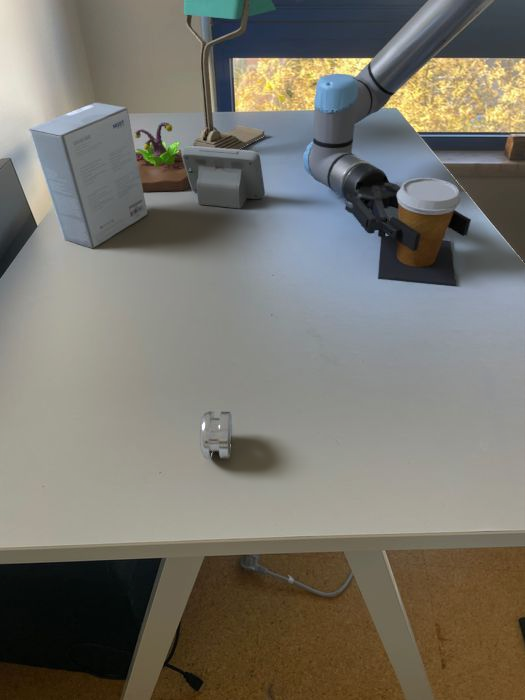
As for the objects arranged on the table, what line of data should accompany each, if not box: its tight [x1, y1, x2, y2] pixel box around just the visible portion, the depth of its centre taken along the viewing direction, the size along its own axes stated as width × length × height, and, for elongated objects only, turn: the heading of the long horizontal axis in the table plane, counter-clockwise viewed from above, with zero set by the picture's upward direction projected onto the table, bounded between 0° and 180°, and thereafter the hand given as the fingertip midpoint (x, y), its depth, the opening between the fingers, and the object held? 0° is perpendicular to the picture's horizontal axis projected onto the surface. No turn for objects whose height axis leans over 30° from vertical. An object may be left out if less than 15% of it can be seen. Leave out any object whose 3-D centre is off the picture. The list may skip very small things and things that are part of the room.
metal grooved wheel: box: [199, 410, 233, 460], centre depth 55 cm, size 5×3×5 cm, turn 178°
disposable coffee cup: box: [397, 177, 461, 267], centre depth 83 cm, size 10×10×12 cm
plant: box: [134, 121, 191, 193], centre depth 113 cm, size 20×20×11 cm
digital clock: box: [180, 145, 266, 209], centre depth 103 cm, size 16×9×11 cm, turn 63°
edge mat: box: [377, 234, 457, 287], centre depth 87 cm, size 12×14×1 cm
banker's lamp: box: [183, 0, 277, 149], centre depth 119 cm, size 16×21×35 cm
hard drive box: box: [28, 102, 148, 249], centre depth 91 cm, size 16×8×20 cm, turn 150°
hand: (442, 235), depth 79 cm, fingers open, 9 cm apart
